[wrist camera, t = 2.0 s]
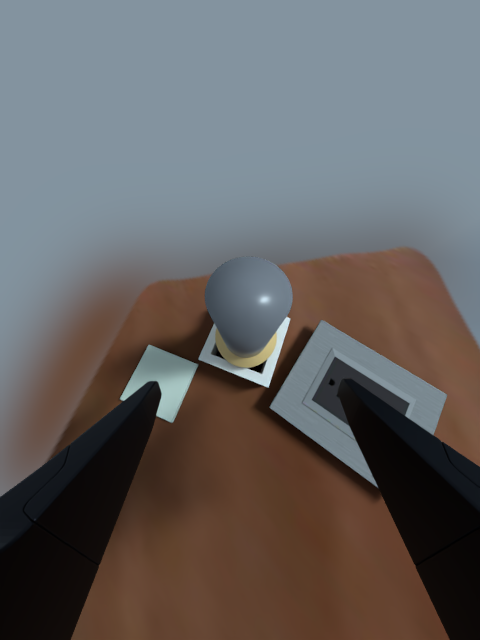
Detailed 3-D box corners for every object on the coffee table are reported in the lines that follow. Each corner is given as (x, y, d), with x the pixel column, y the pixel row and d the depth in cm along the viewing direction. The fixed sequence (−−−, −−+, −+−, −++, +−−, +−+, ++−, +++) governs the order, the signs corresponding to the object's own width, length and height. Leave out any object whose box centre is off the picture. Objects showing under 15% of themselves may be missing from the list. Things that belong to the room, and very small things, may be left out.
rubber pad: (173, 421, 19) (171, 422, 18) (122, 398, 19) (119, 398, 19) (198, 364, 20) (197, 364, 20) (151, 345, 21) (148, 344, 20)
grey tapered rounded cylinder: (260, 377, 20) (290, 376, 7) (212, 358, 20) (165, 327, 8) (276, 329, 21) (323, 262, 9) (231, 313, 22) (216, 230, 10)
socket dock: (264, 386, 19) (268, 387, 17) (204, 362, 20) (198, 359, 17) (284, 326, 21) (290, 318, 18) (228, 306, 22) (226, 296, 19)
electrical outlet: (266, 404, 19) (270, 407, 17) (314, 324, 22) (322, 318, 19) (388, 493, 17) (410, 512, 15) (426, 393, 19) (450, 395, 17)
